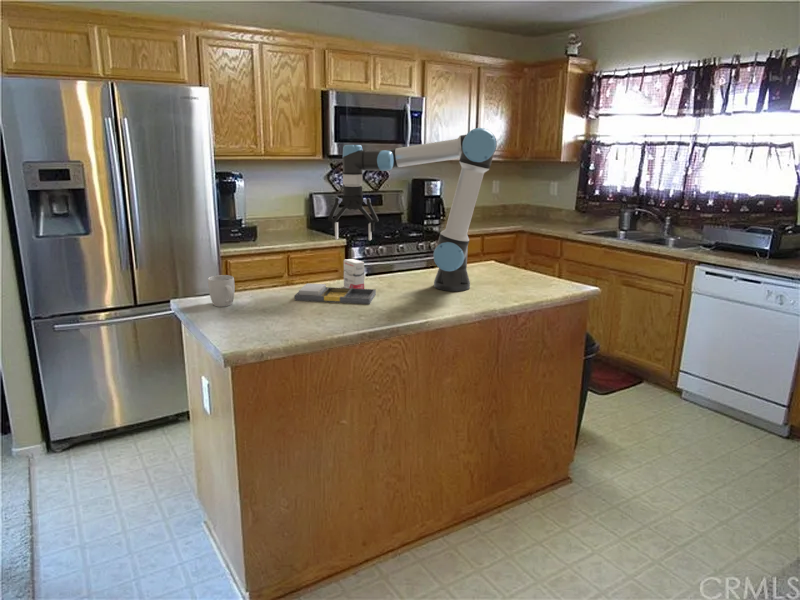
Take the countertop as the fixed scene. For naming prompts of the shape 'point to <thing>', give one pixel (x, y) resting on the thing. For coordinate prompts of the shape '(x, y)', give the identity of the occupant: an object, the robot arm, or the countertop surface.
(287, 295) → the countertop surface
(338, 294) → the rack
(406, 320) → the countertop surface
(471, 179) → the robot arm
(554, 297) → the countertop surface
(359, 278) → the ink box
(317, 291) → the panel
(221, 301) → the mug
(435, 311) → the countertop surface
